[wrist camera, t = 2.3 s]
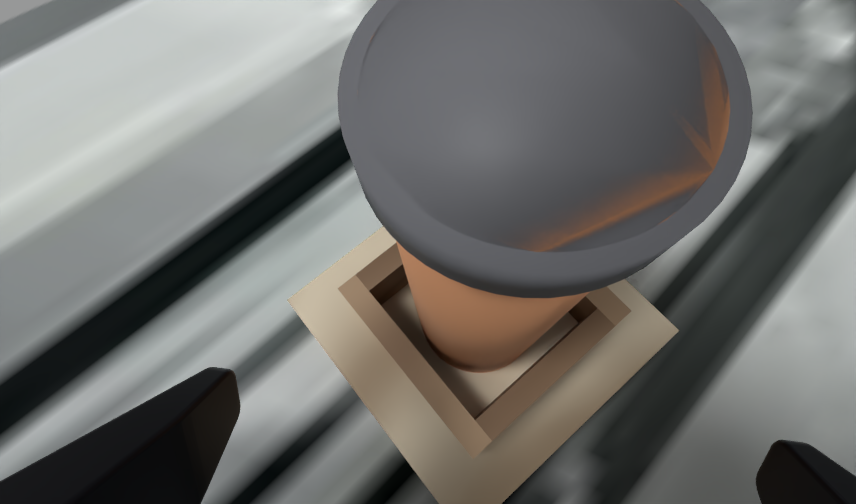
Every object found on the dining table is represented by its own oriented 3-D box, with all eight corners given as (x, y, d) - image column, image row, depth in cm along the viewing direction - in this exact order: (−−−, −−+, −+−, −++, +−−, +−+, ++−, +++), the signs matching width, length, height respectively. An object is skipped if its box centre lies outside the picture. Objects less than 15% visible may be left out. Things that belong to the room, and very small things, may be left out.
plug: (567, 321, 18) (841, 94, 5) (472, 408, 17) (535, 376, 4) (481, 232, 20) (540, -111, 7) (389, 307, 19) (261, 68, 6)
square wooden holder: (662, 337, 19) (713, 317, 15) (464, 529, 17) (467, 559, 13) (483, 163, 22) (490, 112, 19) (298, 308, 20) (264, 283, 17)
